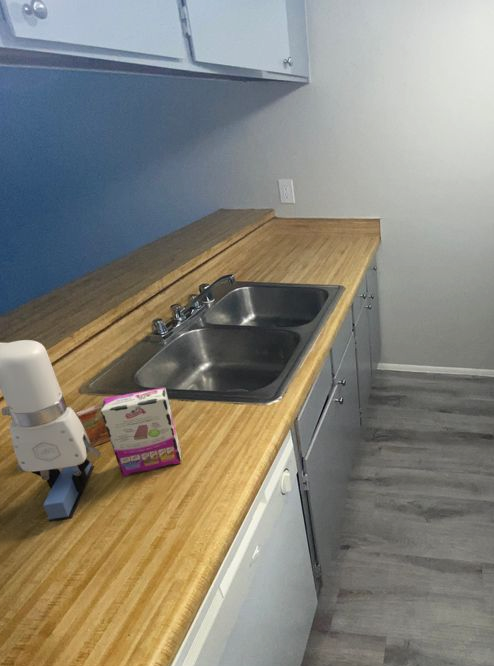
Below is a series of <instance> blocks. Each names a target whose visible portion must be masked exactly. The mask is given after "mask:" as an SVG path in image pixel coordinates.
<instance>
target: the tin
mask: <svg viewBox="0 0 494 666" xmlns="http://www.w3.org/2000/svg"><path fill="white" fill-rule="evenodd" d="M102 405H103V402H101V403H98V404H96V405H92V406H89V407H87V408H85V409H82V410H79V411H77V412H75V414H76V415H77V417H78V418H79V420H80V421H81V423H82V425H83V427H84V429H85V431H86V433H87V436H88V438H89V441H90V444H91V445H92V446H93V447H94V448H96V447H97V446H99V445H102V444H104V443H107V442H109V441H111V440H110V437H109V434H108V431H107V428H106V425H105V423H104V420H103V416H102V414H101V409H102Z"/></svg>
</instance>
